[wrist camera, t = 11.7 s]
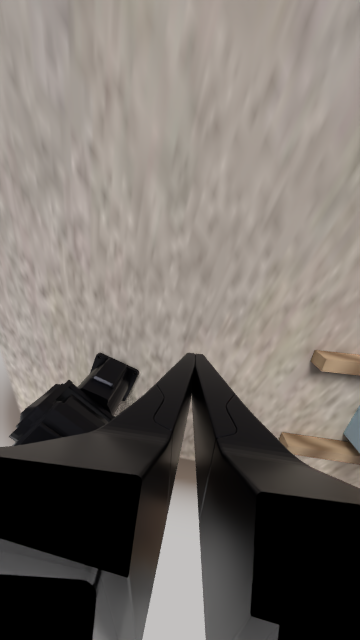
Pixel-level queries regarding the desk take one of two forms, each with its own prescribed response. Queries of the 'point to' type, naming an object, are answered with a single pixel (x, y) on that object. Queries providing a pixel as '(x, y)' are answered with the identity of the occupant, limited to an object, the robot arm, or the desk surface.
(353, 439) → the block
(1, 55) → the desk surface
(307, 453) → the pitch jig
